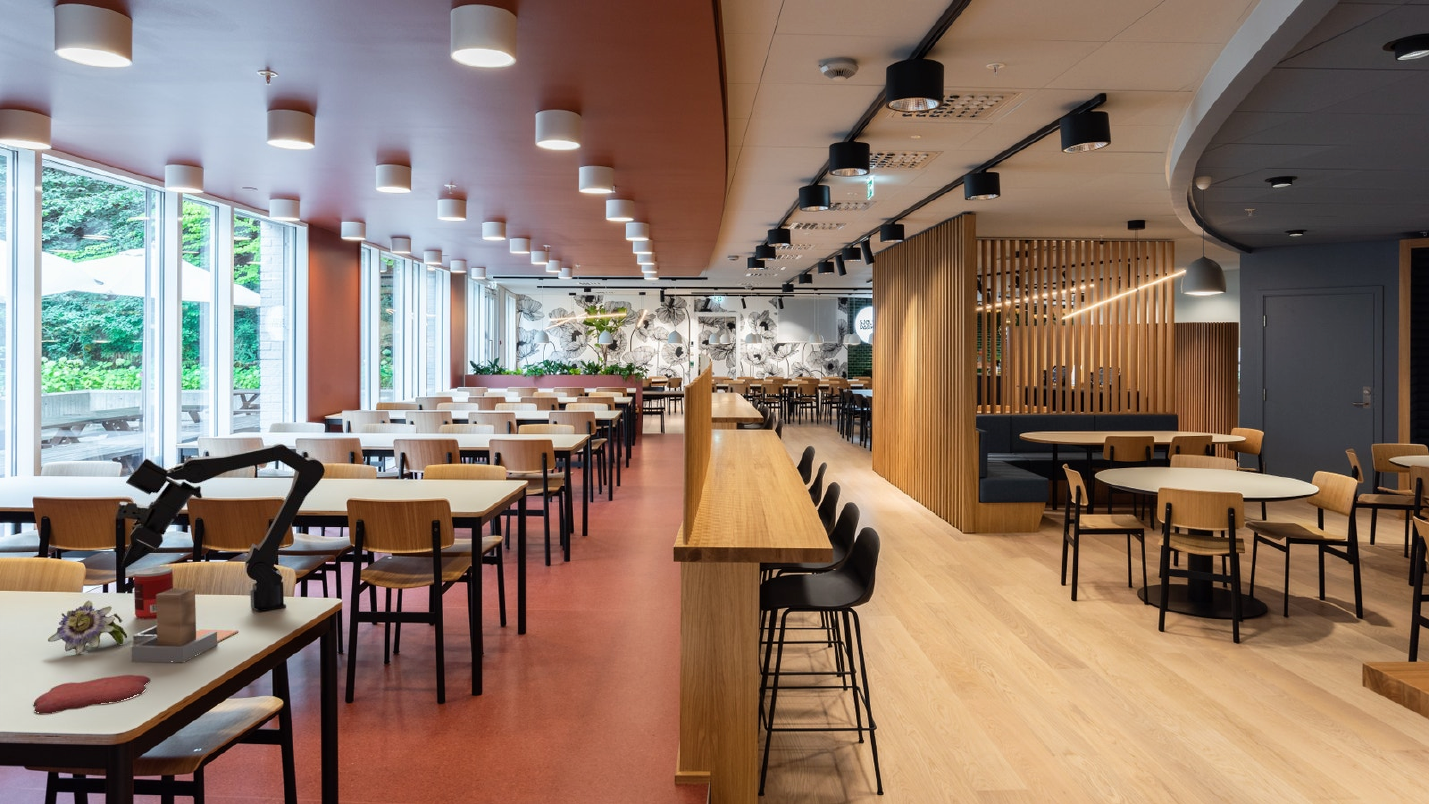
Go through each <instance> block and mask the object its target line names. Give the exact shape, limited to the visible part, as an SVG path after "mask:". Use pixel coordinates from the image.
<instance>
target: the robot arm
mask: <svg viewBox="0 0 1429 804" xmlns="http://www.w3.org/2000/svg"><path fill="white" fill-rule="evenodd" d="M278 461H279V462H281V463H283V464H284V465H286V466H287V467H290V468H291V469H292V470H294V471H295V473H294V475H293V479H292V484H291V487H290V489H289V491H288V493H287V496H286V497H285V499H284V501H283V503H282V505H281V507H280V508H279V510H278V512H277V514H276V516H275V517H274V520H273V521H272V524H271V525H270V527H269V528H268V531H267V532H266V534H265V536H264V538H263V539H262V541H261V542H260V543H258V545H256V544H255V543H251V545H250V549H249V551H248V552H247V554H246V555H245V556H244V557H243V559H244V569H245V571H246V574H247V576H248V577H249V578H250V579H251V580H253V581H255V582H254V583H252V589H251V590H250V608H252V609H253V610H254V611H256V612H259V613H261V612H266V611H272V610H277V609H283V608H286V607H287V604H286V603H285V602H284V599H285V597H284V596H285V594H284V581H283V576H282V573H281V572H280V569H279V568H277V567H276V566H275V564H276V562H277V561H276V560H277V556H278V553H279V549H280V545H282V543H283V540H284V539H285V537H286V535H287V533H288V531H289V529H290V527H291V526H292V524H293V522H294V519H295V518H296V516H297V514H298V512H299V510H300V508H301V506H302V505H303V503H304V501H305V499H306V498H307V496H308V495H309V494H311V492H312V491H313V490H314V489H315V487H316V486H317V485H318V484H319V482H320V481H321V479H322V478H323V477H324V476H325V473H326V469H325V466H324V464H323V463H322V462H321V461H320V460H319V459H317V458H315V457H311V456H310V457H305V456H303V455H301V454H299V453H298V452H296V451H294V450H292V449H290V448H289V447H287V446H286V444H284V443H283V444H282V443H276V444H273V445H268V446H265V447H260V448H256V449H250V450H247V451H246V450H245V451H241V452H236V453H231V454H227V455H221V456H220V455H213V456H212V455H211V456H208V455H207V456H206V455H205V456H193V457H190V458H187V459H186V460H185V461H184V462H183V463H182V464H181V465H178V466H175V467H171V468H169V469H165V468H163V467H162V466H160V465H159V464H157V463H155V462H153V461H152V460H151V459H149V458H144V460H143V461H142V463H140V465H139V466H138V467H137V468H135V469H134V471H132V473H131V474H130V476H129V477H128V479H126V481H125V484H127V485H129V486H131V487H133V488H134V489H137V490H139V491H141V492H143V493H145V494H147V495H148V496H150V495H151V494H158V493H159V492H160V491H161V490H162V488H163V487H164V486H165V484H166V483H168V484H167V485H166V486H165V487H164V489H163V490H162V491H161V493H160V494H159V495H158V496H157V498H156V499H155V500H153V501H150V503H149V505H145V504H139V503H136V502H130V501H128V502H127V501H119V504H118V507H117V510H116V515H115V518H117V519H128V520H134V521H133V525H132V527H131V528H132V531H131V533H130V535H129V540H130V543H129V544H128V547H127V549H126V551H125V553H124V555H123V561H122V563H121V565H120V566H121V567H122V568H123V569H126V568H128V567H130V566H131V565H133V564H134V563H136V562H138V561H139V560H141V559H142V558H144V557H146V556H147V555H149V554H150V553H152V552H154V551H156V550H158V549H159V548H160V546H161V545H162V544H163V542H164V537H163V536H164V535H165V534H166V533H167V530H168V528H169V527H170V526H171V525H172V522H174V521H176V519H177V518H178V517H179V514H180V512H181V511H182V509H184V507H185V506H186V504H187V503H188V502H189V500H190V499H191V498H192V496H193V497H196V498H197V499H202V498H203V496H202V495H203V494H202V492H201V489H202V487H201V485H198V486H194V485H191V484H199V483H203V482H205V481H208V480H211V479H214V478H216V477H217V476H220V475H223V474H225V473H227V472H231V471H235V470H240V469H245V468H251V467H254V466H259V465H265V464H268V463H273V462H278ZM184 480H185V481H184ZM177 481H181V483H178V482H177ZM187 482H188V483H187Z"/></svg>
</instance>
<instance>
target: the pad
mask: <svg viewBox="0 0 1429 804" xmlns="http://www.w3.org/2000/svg"><path fill="white" fill-rule="evenodd" d="M211 632H217V644H218V643H219V642H222V641H224V640H226V639H227V638H226V637H228V636H230V637H231V636H234V635H236V634H238V633H239V630H237V629H235V630H233V629H231V630H229V629H199V630H196V639H198V638H200V637H202V636H204V635H206V634H208V633H211ZM237 632H238V633H237ZM235 633H236V634H235ZM233 634H234V635H233ZM225 638H226V639H225ZM228 638H229V637H228ZM223 639H224V640H223ZM221 640H222V641H221Z"/></svg>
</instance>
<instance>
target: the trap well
mask: <svg viewBox="0 0 1429 804" xmlns="http://www.w3.org/2000/svg"><path fill="white" fill-rule="evenodd" d="M155 636H157V624H156V625H154V626H152V627H149V628H147V629H144V630H142V631H140V632H137V633H136V634H134V635H132V641H133V642H132V643H141V642H144V641H146V640H148V639H150V638H152V637H155Z"/></svg>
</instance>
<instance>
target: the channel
mask: <svg viewBox="0 0 1429 804" xmlns="http://www.w3.org/2000/svg"><path fill="white" fill-rule="evenodd" d="M215 645H217V646H218V643H217V632H211V633H208V634H206V635H204V636H202V637H200V638H198V639H196V640H194V641H192V642H190V643H188V644H186V645H184V646H182V647H177V646H157V636H155V637H152V638H150V639H148V640H146V641H144V642H138V643H136V644H134V645H133V646H131V662H136V663H137V662H141V663H143V662H144V663H145V662H146V663H171V661H173V662H184V661H186V662H188V661H189V659H190V658H192V657H194V656H195V655H197V654H199V653H201V652H203V653H205V652H207V651H209V650H210V648H211V649H213V648H215V647H216V646H215ZM214 646H215V647H214ZM212 647H213V648H212ZM201 654H202V653H201ZM199 655H200V654H199ZM197 656H198V655H197ZM194 658H195V657H194ZM192 659H193V658H192ZM187 660H188V661H187ZM190 660H191V659H190ZM184 663H185V662H184Z"/></svg>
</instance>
